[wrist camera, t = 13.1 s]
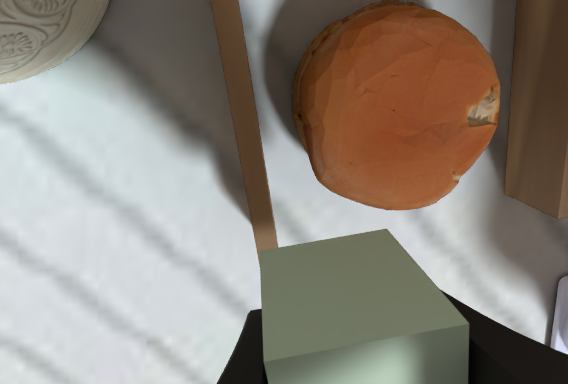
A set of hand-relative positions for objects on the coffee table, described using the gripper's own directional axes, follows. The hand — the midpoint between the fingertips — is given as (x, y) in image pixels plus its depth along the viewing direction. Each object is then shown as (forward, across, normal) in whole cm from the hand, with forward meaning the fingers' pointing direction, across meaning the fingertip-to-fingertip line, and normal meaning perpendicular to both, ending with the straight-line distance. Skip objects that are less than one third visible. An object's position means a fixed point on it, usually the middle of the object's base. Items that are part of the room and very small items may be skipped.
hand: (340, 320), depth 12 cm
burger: (+10, -5, -5) cm, 12 cm away
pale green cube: (+2, 0, 0) cm, 2 cm away
